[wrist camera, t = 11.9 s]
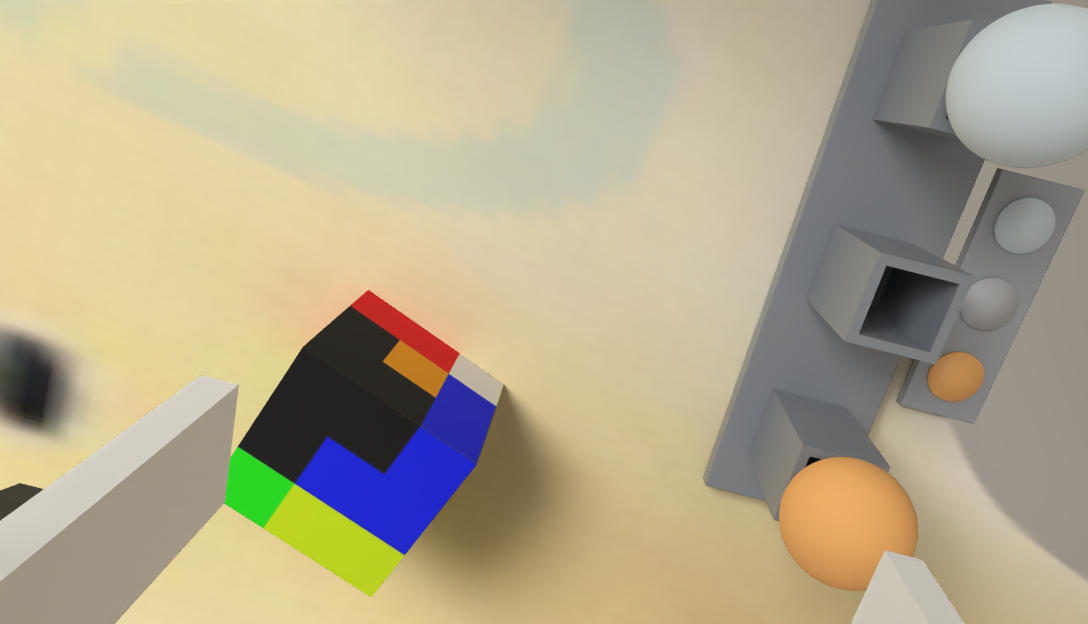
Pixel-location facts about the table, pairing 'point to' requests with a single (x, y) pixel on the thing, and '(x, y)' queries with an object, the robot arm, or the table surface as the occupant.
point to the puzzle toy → (363, 442)
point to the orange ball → (845, 520)
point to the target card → (993, 291)
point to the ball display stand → (860, 255)
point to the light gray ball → (1024, 88)
